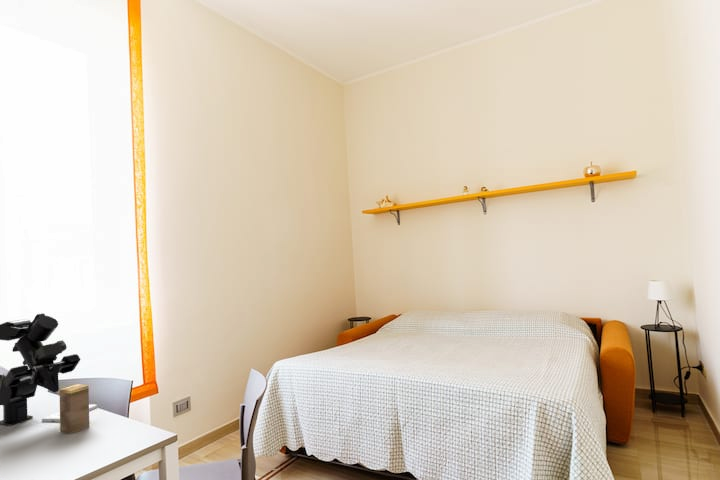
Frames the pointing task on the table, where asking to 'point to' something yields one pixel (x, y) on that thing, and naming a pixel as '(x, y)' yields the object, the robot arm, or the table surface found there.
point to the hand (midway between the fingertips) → (56, 391)
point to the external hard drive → (56, 416)
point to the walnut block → (74, 408)
